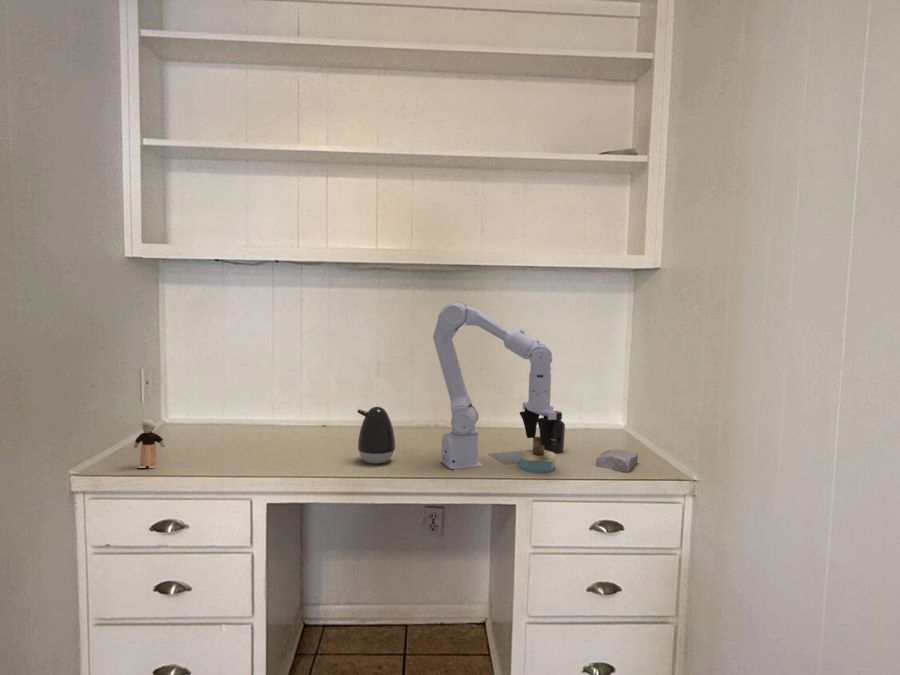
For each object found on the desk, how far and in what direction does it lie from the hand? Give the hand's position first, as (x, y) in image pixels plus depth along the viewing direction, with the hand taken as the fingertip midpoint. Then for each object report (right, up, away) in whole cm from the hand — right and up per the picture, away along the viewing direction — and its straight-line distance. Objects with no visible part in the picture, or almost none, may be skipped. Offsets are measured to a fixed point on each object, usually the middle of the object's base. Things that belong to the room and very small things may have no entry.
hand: (537, 441), depth 164 cm
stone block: (+22, -8, +6) cm, 25 cm away
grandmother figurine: (-101, -6, -5) cm, 101 cm away
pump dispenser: (-44, -7, +5) cm, 44 cm away
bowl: (0, -8, +1) cm, 8 cm away
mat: (-6, -7, +10) cm, 13 cm away
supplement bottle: (+7, -7, +18) cm, 21 cm away
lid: (0, -4, 0) cm, 4 cm away
